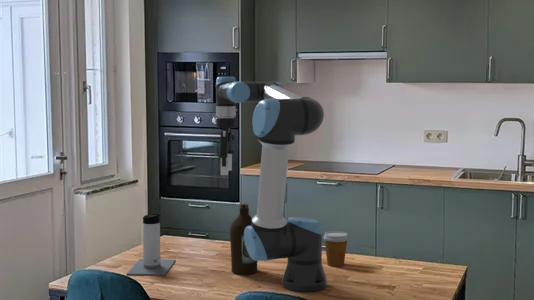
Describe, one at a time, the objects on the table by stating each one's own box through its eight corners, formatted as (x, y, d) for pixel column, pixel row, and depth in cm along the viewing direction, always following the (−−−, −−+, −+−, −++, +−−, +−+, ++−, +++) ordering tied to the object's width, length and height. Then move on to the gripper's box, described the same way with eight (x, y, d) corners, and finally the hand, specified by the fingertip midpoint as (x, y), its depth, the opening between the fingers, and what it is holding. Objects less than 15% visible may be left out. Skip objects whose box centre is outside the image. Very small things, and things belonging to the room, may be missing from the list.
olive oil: (224, 270, 245) (224, 203, 243) (249, 266, 251) (248, 200, 249) (239, 277, 236) (239, 208, 234) (264, 272, 242) (264, 205, 240)
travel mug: (159, 268, 245) (159, 215, 243) (142, 268, 245) (141, 215, 243) (162, 264, 251) (161, 212, 249) (145, 264, 251) (144, 212, 249)
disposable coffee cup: (347, 261, 257) (348, 231, 256) (348, 268, 248) (348, 236, 246) (323, 261, 258) (323, 230, 257) (322, 267, 249) (323, 236, 247)
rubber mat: (165, 275, 238) (165, 274, 238) (126, 275, 239) (126, 273, 239) (175, 261, 258) (175, 259, 258) (140, 260, 259) (139, 259, 259)
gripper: (232, 119, 240) (232, 177, 242) (238, 115, 265) (239, 168, 267) (211, 119, 240) (212, 177, 242) (220, 115, 265) (220, 168, 267)
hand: (226, 172), depth 255 cm, fingers open, 13 cm apart
